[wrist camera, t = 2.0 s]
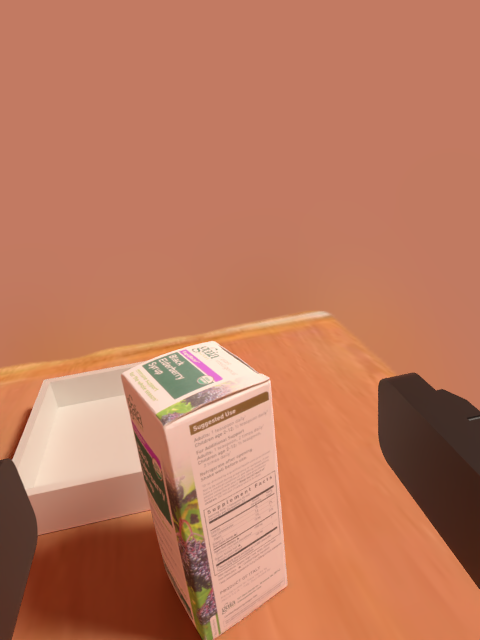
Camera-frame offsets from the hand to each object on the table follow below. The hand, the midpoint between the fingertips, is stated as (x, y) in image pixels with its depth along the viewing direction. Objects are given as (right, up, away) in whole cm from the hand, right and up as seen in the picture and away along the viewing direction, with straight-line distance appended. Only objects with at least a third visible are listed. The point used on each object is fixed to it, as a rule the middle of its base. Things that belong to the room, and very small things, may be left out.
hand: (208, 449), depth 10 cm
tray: (-9, -8, +31) cm, 33 cm away
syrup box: (0, -13, +18) cm, 22 cm away
